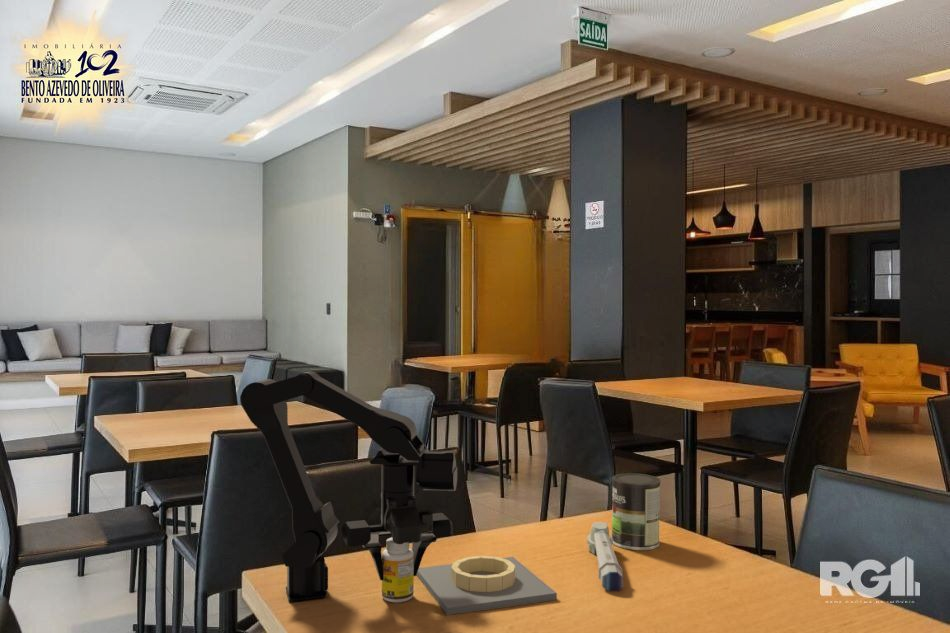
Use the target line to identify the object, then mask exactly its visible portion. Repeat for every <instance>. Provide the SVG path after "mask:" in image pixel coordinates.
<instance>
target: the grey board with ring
mask: <svg viewBox="0 0 950 633" xmlns="http://www.w3.org/2000/svg"><path fill="white" fill-rule="evenodd" d="M416 576H417V578H418V579H419V580H420V581H421V583H422V585H423V586H424V587H425V589H427V590H428V592H429V593H430V595H431V596H432V597H433V598H434V600H435V601H436V602H437V604H438V605H439V606H440V608H441V609H442V610H443V611H444V612H445V614H446V615H447V616H451V615H458V614H465V613H472V612H480V611H486V610H494V609H501V608H507V607H509V608H510V607H513V606H522V605H523V606H524V605H529V604H535V603H542V602H550V601H557V600H558V598H557V594H558V593H557V592H556V591H555V590H554V589H552V587H550V586H549V585H548V584H547V583H545V582H544V580H542V579H540V578H539V577H538V575H536V574H534V573H533V571H531V570H530V569H528V568H527V567H526V566H525V565H523V563H521V562H520V561H518V560H517V558H515V557H514V556H509V557H499V556H491V555H490V556H489V555H474V556H467V557H463V558H461V559H458V560H455V561H454V562H453V563H450V564H442V565H440V564H439V565H431V566H422V567H419V569H418V572H417V575H416Z"/></svg>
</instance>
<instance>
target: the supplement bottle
mask: <svg viewBox="0 0 950 633" xmlns="http://www.w3.org/2000/svg"><path fill="white" fill-rule="evenodd" d="M385 543H386V545H385V547H386V548H385V549H384V550H383V551H382V552H381V555H382V565H383V580H381V596H382V599H383V600H385V601H386V602H388V603H389V602H390V603H396V604H397V603H404V602H405V603H406V602H407V601H410V600H411V599H412V598H413V597H414V582H415V581H414V580H415V578H414V577H415V576H414V553H413V551H412V548H410V542H407V543H403V544H396V543H394V542H393V538H392V536H391V537H389V538H387V539H386V542H385Z"/></svg>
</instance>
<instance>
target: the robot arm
mask: <svg viewBox="0 0 950 633" xmlns="http://www.w3.org/2000/svg"><path fill="white" fill-rule="evenodd" d="M302 396H303V397H305V398H307V399H309V400H311V401H313V402H315V403H317V404H318V405H320V406H322V407H323V408H325V409H327V410H329V411H330V412H332V413H334V414H335V415H338V416H339V417H341V418H343V419H345V420H346V421H349V422H350V423H351V424H354V425H355V426H357V427H358V428H360V429H361V430H363V431H364V432H365V433H366V435H367V436H368V437H369V438H370V439H371V440H372V441H373V442H374V443H376V445H378V447H380V449H379V450H378V451H377V453H376V454H375V456H373V458H372V459H370V460H369V464H370V465H381V492H380V499H381V504H380V506H381V507H380V508H381V510H380V511H381V514H380V521H381V522H380V524H374V525H369V524H368V523H367V521H366V520H365V519H362V520H361V519H360V520H352V521H351V520H349V521H345V522H344V523H343V525H342V526H341V527H342V529H341V537H342V539H343V541H344V543H345V545H346V546H347V547H359V546H360V547H361V546H362V548H363V550H364V549H365V550H368V551H369V553H370V555H371V558H372V561H373V563H374V566H375V569H376V572H377V575H378V578H379V580H380V581H382V580H383V565H382V547H383V545H382V544H381V542H380V541H379V539H380V538H379V537H382V536H383V537H384V536H391V537H392V538H393V542H394V543H396V544H403V543H407V542H409V543H412V546H411V550H412V551H413V553H414V577H416V576H417V572H418V569H419V568H420V566H421V563H422V559H423V556H424V555H425V552H426V550H427V548H428V547H429V546H430V545H431V544H432V543H436V542H437V540H438V539H437V538H444V537H446V538H447V537H452V536H453V535H454V525H453V524H454V523H453V522H452V520H451V519H449V518H448V517H447V516H446V515H445V514H444V513H443V512H437V513H436V512H435V513H433V512H432V510H431V509H426V510H425V509H424V510H418V508H417V504H416V503H417V502H416V497H415V480H416V484H417V485H418V486H419V487H421V488H422V490H423V491H443V492H444V491H445V492H446V491H448V492H455V491H456V490H457V485H458V484H457V483H458V466H457V461H456V451H454V450H444V451H433V450H432V451H431V450H430V451H429V450H428V448H427V447H426V445H425V443H424V442H423V441H422V440H421V438H420V437H419V436H418V434H417V426H416V424H415V422H414V420H412V419H411V418H410V417H408V416H406V415H404V414H400V413H398V412H394V411H392V410H388V409H383V408H379V407H376V406H373V405H371V404H370V403H368V402H366V401H364V400H362V399H361V398H359V397H357V396H355V395H353V394H352V393H350V392H348V391H346V390H345V389H343V388H341V387H339V386H337V385H335V384H334V383H333V382H330V381H328V380H327V379H326V378H325V379H324V378H323V377H321V376H320V374H318V373H317V372H315V371H305V372H301V373H298V374H297V375H296V376H292V377H289V378H285V379H281V380H279V381H276V380H274V379H272V378H271V379H270V378H266V379H262V380H258V381H255V382H249V384H246V386H245V387H244V388H243V389H242V392H241V393H240V395H239V402H240V405H241V407H242V409H243V410H244V412H245V414H246V415H247V416H246V417H247V418H248V419H249V421H250V422H251V423H252V424H253V425H254V426H255V427H256V428H257V430H259V431H260V432H261V434H262V436H263V438H264V440H265V444H266V445H267V447H268V451H269V453H270V456H271V458H272V461H273V462H274V466H275V469H276V472H277V474H278V476H279V479H280V481H281V485H282V487H283V489H284V491H285V494H286V497H287V499H288V502H289V504H290V508H291V523H292V524H291V525H292V526H291V529H292V533H293V537H294V541H295V542H294V543H293V544H292V545H291V546H290V547H289V548H288V549H287V550H286V551H284V553H282V555H281V558H282V561H283V563H284V566H285V567H286V573H287V574H286V586H285V592H286V595H288V596H287V599H289V600H288V601H289V602H290V601H292V602H299V601H298V600H300V601H306V600H316V599H323V598H324V599H325V598H327V596H328V594H327V591H328V590H329V567H328V565H327V563H326V562H325V561H326V559H325V557H324V555H323V554H324V553H325V552H326V551H327V548H329V546H330V545H331V544H332V543H333V542H334V541H335V539H336V538H337V535H338V532H339V529H338V523H340V520H339V519H338V518H337V516H336V515H335V513H334V507H333V505H332V502H331V501H328V502H326V503H325V504H324V503H323V502H322V501H321V500H320V499H319V498H318V497H317V495H316V492H315V491H314V487H313V485H312V483H311V480H310V477H309V475H308V472H307V470H306V467H305V465H304V462H303V460H302V457H301V455H300V452H299V449H298V447H297V444H296V441H295V440H294V436H293V434H292V431H291V429H290V427H289V422H288V414H289V413H288V411H289V410H288V403H287V402H288V401H289V400H291V399H295V398H298V397H302ZM415 466H416V467H415ZM415 468H416V469H415ZM415 478H416V479H415Z"/></svg>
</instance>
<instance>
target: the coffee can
mask: <svg viewBox="0 0 950 633" xmlns="http://www.w3.org/2000/svg"><path fill="white" fill-rule="evenodd" d="M611 482H612V498H611V499H612V500H611V501H612V512H611V514H612V515H611V516H612V520H611V521H612V522H611V524H612V525H611V527H612V529H611V537H612V539H613V544H612V545H613V546H614V545H615V546H616V547H618V548H621V549H625V550H629V551H639V552H640V551H650V550H655V549H657V548H660V547H659V546H660V512H661V511H660V510H661V509H660V508H661V506H660V501H661V500H660V498H661V494H660V493H661V482H662V480H661V478H659V477H657V476H655V475H650V474H647V473H646V474H644V473H636V472H635V473H634V472H633V473H629V472H627V473H619V474H615V475H613V476H612V477H611Z"/></svg>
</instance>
